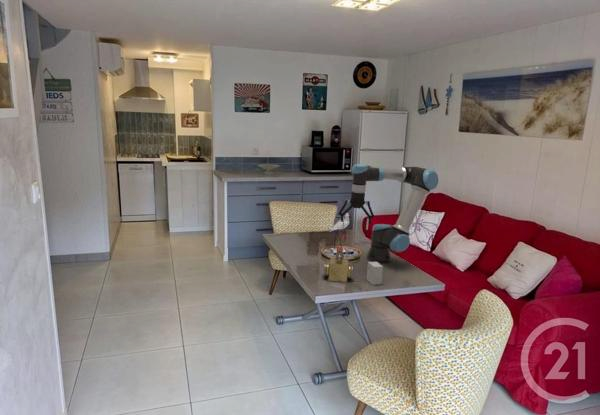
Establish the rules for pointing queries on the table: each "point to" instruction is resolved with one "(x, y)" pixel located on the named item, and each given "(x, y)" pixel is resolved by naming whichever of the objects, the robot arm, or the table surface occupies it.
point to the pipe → (351, 270)
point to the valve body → (338, 270)
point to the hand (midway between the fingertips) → (354, 228)
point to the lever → (339, 253)
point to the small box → (374, 273)
